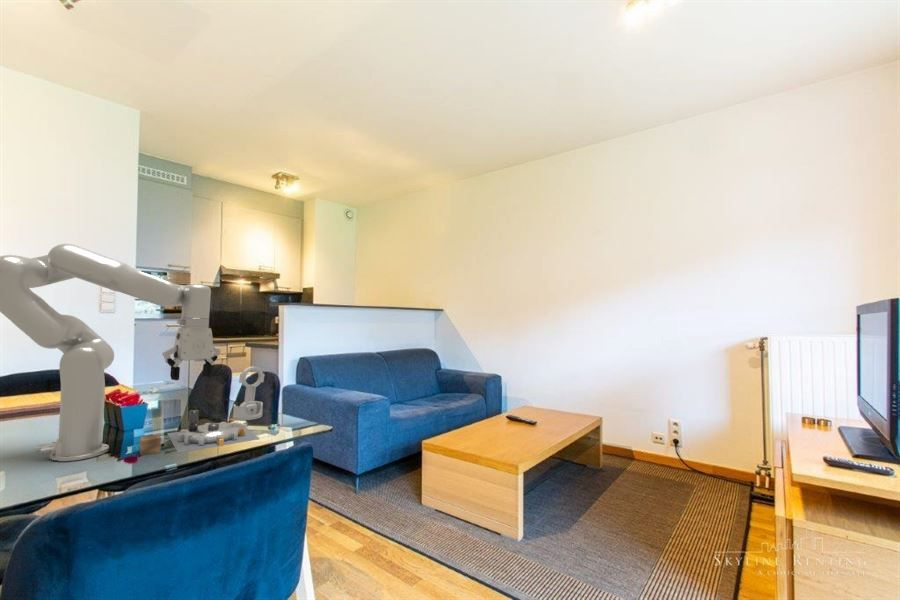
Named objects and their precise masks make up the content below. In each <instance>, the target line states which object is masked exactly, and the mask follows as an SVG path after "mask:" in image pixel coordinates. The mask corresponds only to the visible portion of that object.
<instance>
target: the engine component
mask: <svg viewBox="0 0 900 600" xmlns="http://www.w3.org/2000/svg"><path fill="white" fill-rule="evenodd" d="M251 371H256V372H257V375H258V377H257V380H256V381H255V382H254V383H252V384H249V383H248V382H247V379H246V377H247V375H248V373H249V372H251ZM264 381H265V373H264V372H263V371H262V369H261V368H260V367H258V366H254V365H253V366H248V367H246V368H245V369H244V370H243V371H242V372H241V373H240V374H239V380H238V383H239V384H242V386H244V387H245V392H244V393H245V394H244V401H243V402H242V403H240V405H239V406H238V405H236V404H233V410H232V411H233V414H232V418H233V420H236V421H250V420H252V421H253V420H257V419H260V418H262V417H263V406H264V405H263V404H264V403H263V402H262V401H260V400H259V401H258V400H255V397H256V388H257V387H258V386H259V385H261V383H264Z"/></svg>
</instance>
